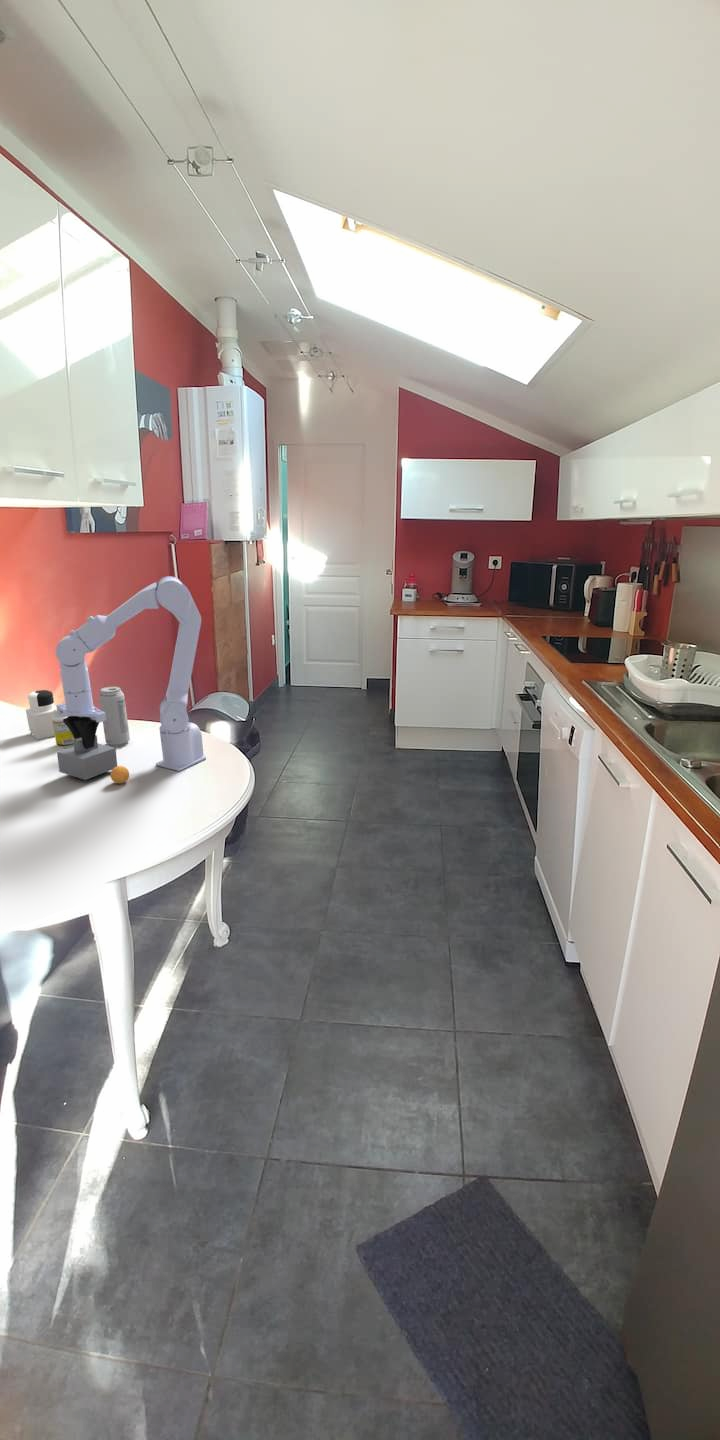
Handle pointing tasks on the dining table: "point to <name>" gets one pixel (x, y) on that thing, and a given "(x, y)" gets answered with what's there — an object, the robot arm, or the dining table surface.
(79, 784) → the dining table surface
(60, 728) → the supplement bottle
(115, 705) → the energy drink can
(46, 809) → the dining table surface
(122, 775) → the ball
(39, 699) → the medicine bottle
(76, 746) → the grey stepped block
